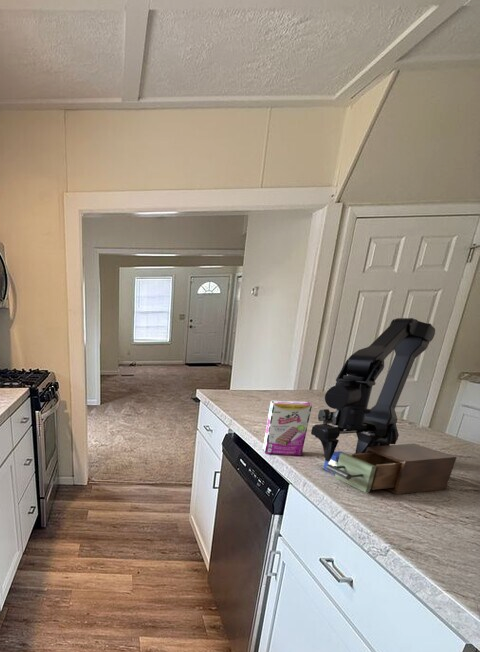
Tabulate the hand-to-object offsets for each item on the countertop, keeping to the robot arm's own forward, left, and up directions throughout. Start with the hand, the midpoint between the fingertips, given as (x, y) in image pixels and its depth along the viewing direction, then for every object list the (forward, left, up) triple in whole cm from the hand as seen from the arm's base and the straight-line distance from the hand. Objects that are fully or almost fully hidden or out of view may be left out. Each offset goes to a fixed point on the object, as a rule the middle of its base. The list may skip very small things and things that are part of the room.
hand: (342, 460), depth 111 cm
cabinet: (+10, +10, -4) cm, 15 cm away
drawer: (+10, -1, -3) cm, 10 cm away
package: (0, 0, -4) cm, 4 cm away
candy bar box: (-19, -5, -4) cm, 20 cm away
